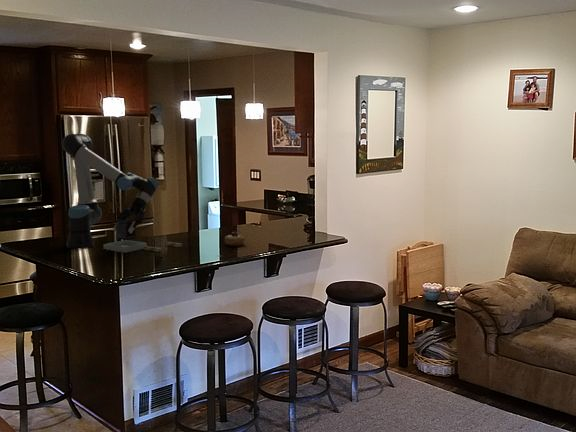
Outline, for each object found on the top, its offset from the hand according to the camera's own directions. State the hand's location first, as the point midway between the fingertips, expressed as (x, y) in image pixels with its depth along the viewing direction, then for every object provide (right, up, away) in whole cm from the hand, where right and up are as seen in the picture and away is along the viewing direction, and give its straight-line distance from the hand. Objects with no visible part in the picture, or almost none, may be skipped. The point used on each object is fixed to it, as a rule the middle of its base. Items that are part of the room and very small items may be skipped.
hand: (122, 231), depth 352 cm
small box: (+2, -4, +3) cm, 6 cm away
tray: (+1, -10, +4) cm, 11 cm away
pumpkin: (+62, -9, +18) cm, 65 cm away
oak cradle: (+22, -10, +6) cm, 25 cm away
